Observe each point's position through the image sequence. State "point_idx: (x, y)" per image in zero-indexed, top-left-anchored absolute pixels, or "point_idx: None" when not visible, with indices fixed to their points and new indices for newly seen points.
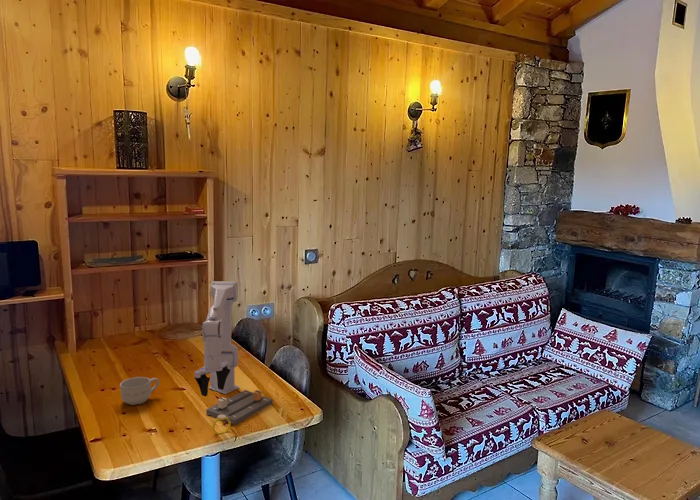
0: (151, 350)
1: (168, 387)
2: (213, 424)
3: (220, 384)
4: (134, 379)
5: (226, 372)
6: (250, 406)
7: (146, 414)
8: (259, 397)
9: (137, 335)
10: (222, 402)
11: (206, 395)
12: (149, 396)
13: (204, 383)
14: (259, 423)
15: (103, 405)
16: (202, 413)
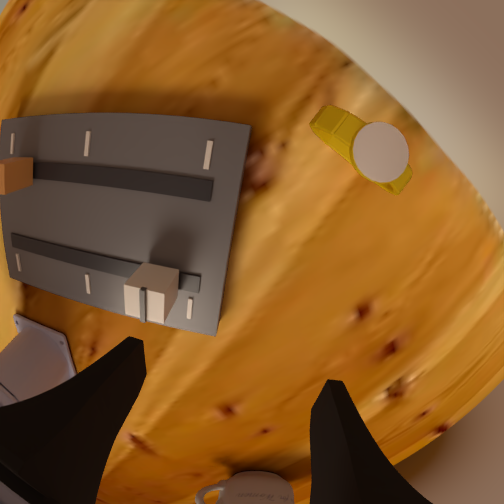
0: None
1: (155, 460)
2: (406, 183)
3: (125, 386)
4: None
5: (21, 453)
6: (77, 154)
7: (309, 445)
8: (14, 159)
9: None
10: (163, 286)
11: (337, 383)
12: (241, 478)
13: (413, 489)
14: (176, 30)
15: (300, 493)
16: (223, 337)
